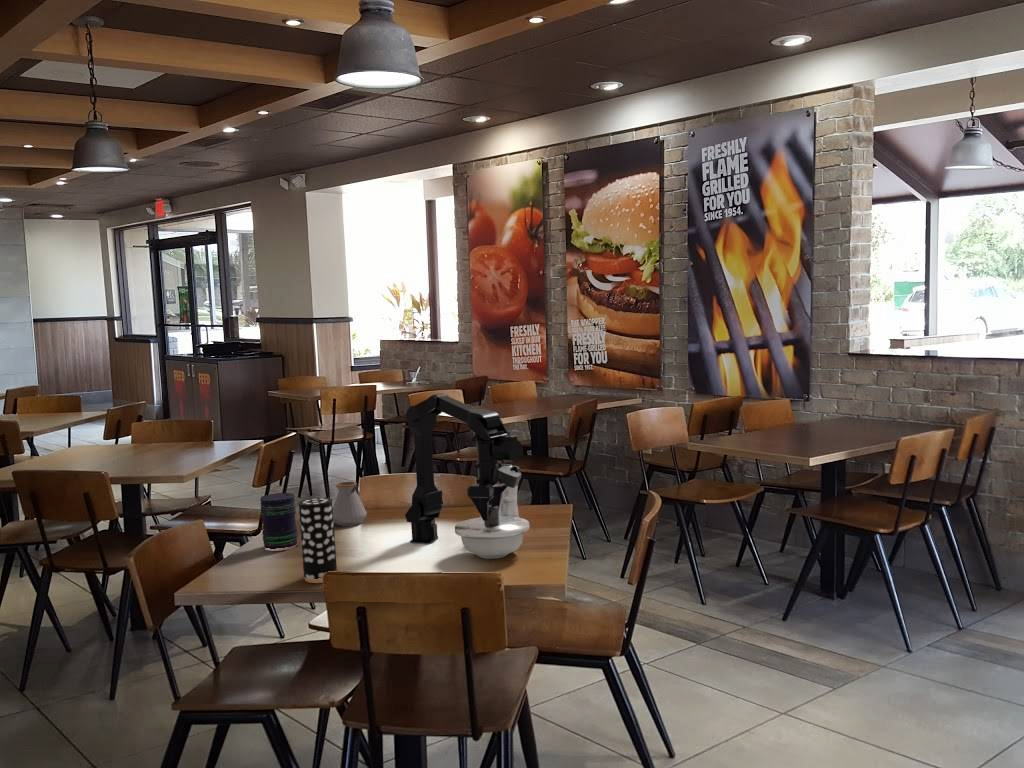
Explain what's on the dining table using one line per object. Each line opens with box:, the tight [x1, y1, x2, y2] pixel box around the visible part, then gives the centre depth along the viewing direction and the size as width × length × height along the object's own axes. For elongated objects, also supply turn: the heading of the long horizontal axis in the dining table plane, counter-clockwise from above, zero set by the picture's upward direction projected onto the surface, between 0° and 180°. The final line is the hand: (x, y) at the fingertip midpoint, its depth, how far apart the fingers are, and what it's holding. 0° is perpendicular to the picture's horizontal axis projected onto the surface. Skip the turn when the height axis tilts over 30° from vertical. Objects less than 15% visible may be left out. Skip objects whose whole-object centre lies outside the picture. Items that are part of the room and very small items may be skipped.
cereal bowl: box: [460, 533, 524, 560], centre depth 246 cm, size 17×17×7 cm
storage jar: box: [259, 492, 299, 549], centre depth 265 cm, size 10×10×15 cm
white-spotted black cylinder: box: [297, 497, 338, 579], centre depth 231 cm, size 8×8×20 cm
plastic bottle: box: [499, 463, 520, 518], centre depth 268 cm, size 6×7×20 cm
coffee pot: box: [332, 481, 368, 527], centre depth 285 cm, size 21×12×15 cm, turn 23°
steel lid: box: [454, 504, 530, 539], centre depth 245 cm, size 20×20×6 cm
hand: (491, 516), depth 245 cm, fingers open, 9 cm apart
